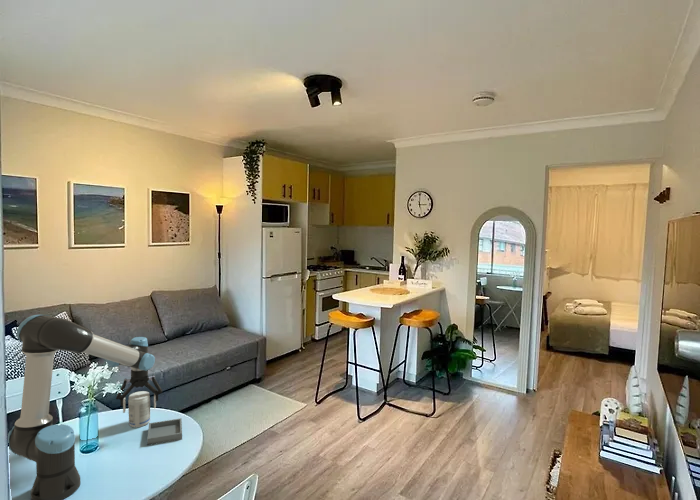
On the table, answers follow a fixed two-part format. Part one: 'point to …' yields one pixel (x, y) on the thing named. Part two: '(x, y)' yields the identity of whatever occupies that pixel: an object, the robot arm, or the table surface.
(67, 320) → the robot arm
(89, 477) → the table surface
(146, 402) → the supplement tub
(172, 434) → the tray
